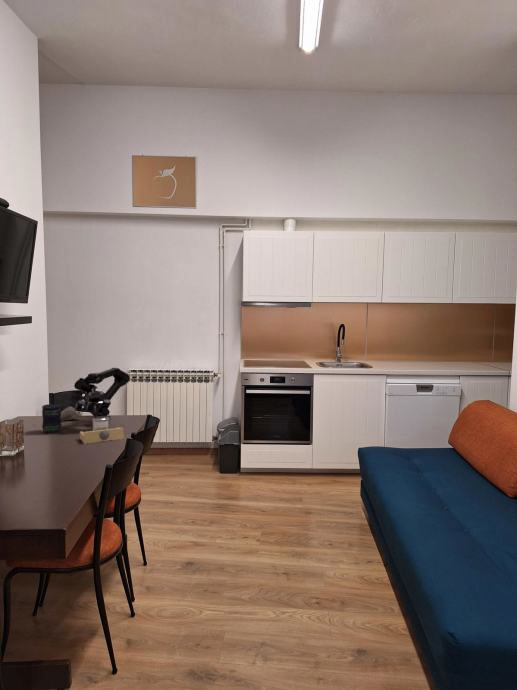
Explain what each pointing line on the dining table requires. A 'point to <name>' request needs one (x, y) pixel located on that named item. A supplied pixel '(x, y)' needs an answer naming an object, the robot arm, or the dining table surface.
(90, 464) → the dining table surface
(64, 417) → the pipe
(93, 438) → the tan wooden u-frame
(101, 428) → the door knob
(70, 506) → the dining table surface
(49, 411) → the storage jar
